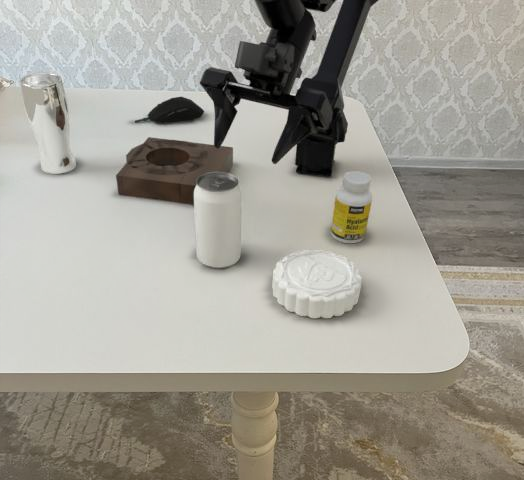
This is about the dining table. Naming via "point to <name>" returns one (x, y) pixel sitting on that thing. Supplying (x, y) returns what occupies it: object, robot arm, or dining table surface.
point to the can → (217, 219)
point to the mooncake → (316, 283)
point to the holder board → (170, 169)
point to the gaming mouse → (174, 111)
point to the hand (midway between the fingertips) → (244, 154)
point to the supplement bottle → (352, 208)
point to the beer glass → (49, 120)
